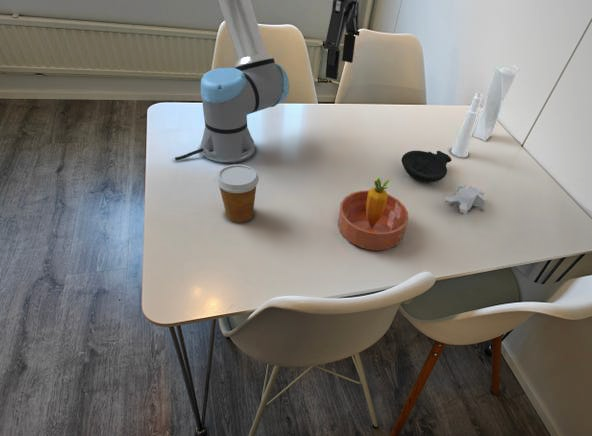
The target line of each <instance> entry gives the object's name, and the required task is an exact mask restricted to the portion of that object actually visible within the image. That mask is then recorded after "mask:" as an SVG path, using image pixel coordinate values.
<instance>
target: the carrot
mask: <svg viewBox="0 0 592 436" xmlns="http://www.w3.org/2000/svg"><path fill="white" fill-rule="evenodd" d="M381 181H382V180H381V178H380V177H377V178H374V181H373V182H374V185H375V186H373V187H372V188H371V189H369V190H370V191H369V192H368V195H367V202H366V216H367V220H368V222H369V225H370V226H371V227H373V226H374V225H375V224H376V223H377V222H378V221H379V219H380V218H381V216H382V214H383V212H384V210H385V206H386V203H387V199H388V194H389V193H388V192H387V191H386V190H388V186H387V185H388V183H389V182H390V181H391V180H390V179H388V178H387V179H386V180H385V181H384V183H383V184H382V182H381Z"/></svg>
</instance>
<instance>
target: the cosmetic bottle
mask: <svg viewBox="0 0 592 436" xmlns="http://www.w3.org/2000/svg"><path fill="white" fill-rule="evenodd" d="M482 101H483V94H482V93H481V92H475V95H474V96H473V98H472V101H471V105H470V108H469V109H468V110H467V112H466V114H465V116H464V120H463V123H462V125H461V128H460V130H459V133H458V135H457V137H456V140H455V142H454V144H453V146H452V148H451V149H450V151H451V154H452V155H453V156H455V157H457V158H466V157H468V156H469V152H470V151H469V150H470V145H471V141H472V137H473V133H474V130H475V127H476V124H477V121H478V118H479V115H480V112H479V109H480V107H481V103H482Z"/></svg>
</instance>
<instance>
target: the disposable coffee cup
mask: <svg viewBox="0 0 592 436" xmlns="http://www.w3.org/2000/svg"><path fill="white" fill-rule="evenodd" d="M259 180H260V177H259V176H258V173H257V172H256V170H255V169H254V168H252V167H251V166H249V165H245V164H238V163H237V164H230V165H226V166H224V167H222V168H221V169H220V170H219V171H218V172H217V175H216V177H215V182H216V185H217V186H218V188H219V191H220V196H221V198H222V202H223V207H224V211H225V214H226V218H227V219H228V220H229V221H231V222H234V223H244V222H247V221H249V220H250V219H252V218H253V216H254V209H255V199H256V192H257V185H258V184H259Z"/></svg>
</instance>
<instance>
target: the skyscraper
mask: <svg viewBox="0 0 592 436" xmlns="http://www.w3.org/2000/svg"><path fill="white" fill-rule="evenodd" d="M511 68H516V71H515V73H514V72H512V71H511ZM518 72H519V67H518V66H516V65H514V64H513V65H510V66H509V67H502V68H500V67H498V66H496V67H495V68H494V70H493V73H492V76H491V79H490V82H489V86H488V90H487V94H486V100H485V102H484V104H483V106H482V109H481V110H480V112H479V115H478V117H477V121H476V124H475V128H474V131H473V134H472V137H475V138H477V139H480V140H483V141H484V142H486V141H487V140H488V139H489V138H490V137H491V135H492V133H493V131H494V129H495V127H496V125H497V121H498V118H499V115H500V112H501V107H502V103H503V101H504V99H505V98H506V96H507V94H508V92H509V90H510V88H511V87H512V84H513V82H514V79H515V77H516V75H517V74H518Z"/></svg>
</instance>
